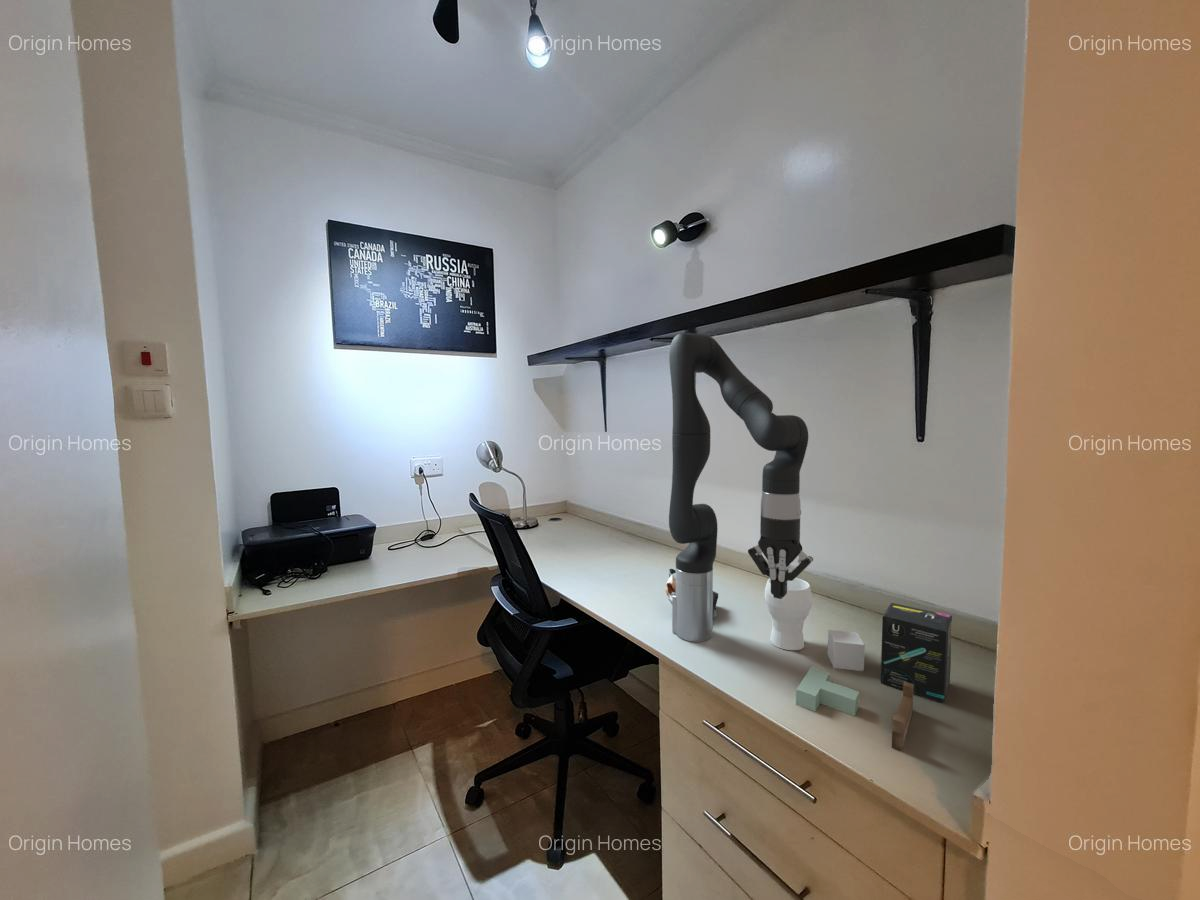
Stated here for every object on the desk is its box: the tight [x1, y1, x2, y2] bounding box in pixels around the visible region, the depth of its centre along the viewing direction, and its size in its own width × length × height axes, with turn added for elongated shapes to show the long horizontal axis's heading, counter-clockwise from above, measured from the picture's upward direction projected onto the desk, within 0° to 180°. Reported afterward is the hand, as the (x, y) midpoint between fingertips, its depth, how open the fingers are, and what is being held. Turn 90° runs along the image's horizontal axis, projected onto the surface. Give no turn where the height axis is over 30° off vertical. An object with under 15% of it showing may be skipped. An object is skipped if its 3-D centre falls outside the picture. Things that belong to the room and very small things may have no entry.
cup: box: [764, 577, 813, 651], centre depth 112 cm, size 11×11×15 cm
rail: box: [891, 681, 914, 752], centre depth 82 cm, size 2×14×5 cm, turn 140°
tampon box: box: [880, 602, 953, 703], centre depth 95 cm, size 11×9×15 cm
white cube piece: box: [827, 629, 865, 672], centre depth 103 cm, size 6×6×6 cm
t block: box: [795, 667, 860, 717], centre depth 89 cm, size 10×10×3 cm
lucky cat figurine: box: [665, 568, 719, 620], centre depth 130 cm, size 15×12×14 cm
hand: (778, 597), depth 95 cm, fingers closed
